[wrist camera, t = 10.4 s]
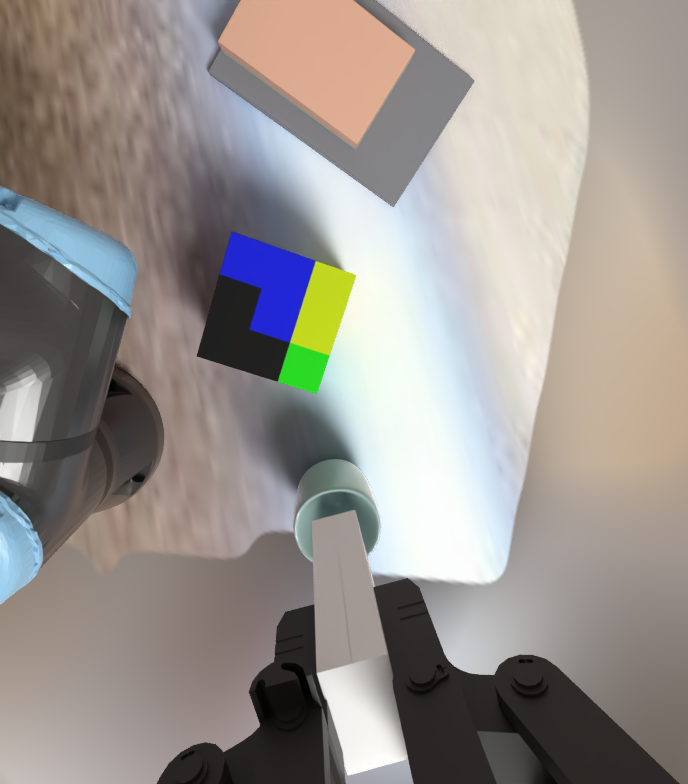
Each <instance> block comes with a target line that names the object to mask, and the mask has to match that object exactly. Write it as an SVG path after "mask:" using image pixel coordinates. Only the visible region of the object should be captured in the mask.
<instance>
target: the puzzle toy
mask: <svg viewBox="0 0 688 784" xmlns="http://www.w3.org/2000/svg"><path fill="white" fill-rule="evenodd" d="M355 278H356V275H355V274H352V273H349V272H346V271H343V270H340V269H337V268H335V267H332V266H329V265H326V264H323V263H320V262H317V261H315V260H312V259H309V258H306V257H303V256H300V255H297V254H295V253H292V252H289V251H286V250H283V249H280V248H278V247H275V246H272V245H269V244H266V243H263V242H260V241H258V240H255V239H252V238H249V237H246V236H243V235H240V234H238V233H235V232H231V236H230V239H229V243H228V246H227V250H226V254H225V257H224V261H223V264H222V268H221V271H220V275H219V279H218V282H217V286H216V289H215V293H214V296H213V300H212V303H211V307H210V311H209V314H208V318H207V321H206V325H205V328H204V332H203V336H202V339H201V343H200V346H199V350H198V353H197V357H201V358H204V359H207V360H210V361H213V362H216V363H220V364H223V365H226V366H229V367H232V368H236V369H239V370H242V371H245V372H248V373H252V374H255V375H258V376H261V377H264V378H267V379H271V380H274V381H277V382H280V383H283V384H287V385H290V386H293V387H296V388H299V389H303V390H306V391H309V392H312V393H315V394H317V392H318V389H319V386H320V383H321V380H322V377H323V374H324V371H325V368H326V365H327V362H328V359H329V356H330V353H331V350H332V347H333V344H334V341H335V338H336V335H337V332H338V329H339V326H340V323H341V320H342V317H343V314H344V311H345V308H346V305H347V302H348V299H349V296H350V293H351V290H352V287H353V284H354V281H355Z"/></svg>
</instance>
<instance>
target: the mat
mask: <svg viewBox="0 0 688 784" xmlns="http://www.w3.org/2000/svg"><path fill="white" fill-rule="evenodd" d="M354 1H355V2H356V3H357V4H359V5H360V6H361V7H362V8H364V9H365V10H366V11H367V12H369V13H370V14H371V15H372V16H374V17H375V18H376V19H377V20H379V21H380V22H381V23H382V24H384V25H385V26H386V27H387V28H389V29H390V30H391V31H392V32H394V33H395V34H396V35H397V36H399V37H400V38H401V39H402V40H404V41H405V42H406V43H407V44H409V45H410V46H411V47H413V48H414V49H415V52H414V54H413V57H412V59H411V61H410V63H409V64H408V66H407V67H406V69H405V71H404V72H403V74H402V75H401V77H400V79H399V80H398V82H397V84H396V85H395V87H394V88H393V90H392V92H391V93H390V95H389V97H388V98H387V100H386V101H385V103H384V105H383V106H382V108H381V109H380V111H379V113H378V114H377V116H376V118H375V119H374V121H373V122H372V124H371V126H370V127H369V129H368V131H367V132H366V134H365V135H364V137H363V139H362V140H361V142H360V144H359V145H358V147H357V148H356V150H354V149H353V148H351V147H350V146H349V145H347V144H346V143H345V142H343V141H342V140H341V139H339V138H338V137H337V136H335V135H334V134H332V133H331V132H330V131H328V130H327V129H326V128H324V127H323V126H322V125H320V124H319V123H317V122H316V121H315V120H313V119H312V118H311V117H309V116H308V115H307V114H305V113H304V112H303V111H301V110H300V109H298V108H297V107H296V106H294V105H293V104H292V103H290V102H289V101H288V100H286V99H285V98H283V97H282V96H281V95H279V94H278V93H277V92H275V91H274V90H273V89H271V88H270V87H269V86H267V85H266V84H264V83H263V82H262V81H260V80H259V79H258V78H256V77H255V76H254V75H252V74H251V73H249V72H248V71H247V70H245V69H244V68H243V67H241V66H240V65H239V64H237V63H236V62H235V61H233V60H232V59H230V58H229V57H228V56H226V55H225V54H224V53H222V50H220V51H219V53H218V55H217V57H216V59H215V60H214V62H213V64H212V66H211V68H210V69H209V71H208V72H209V74H210V75H211V76H213V77H214V78H215V79H217V80H218V81H219V82H221V83H222V84H224V85H225V86H226V87H228V88H229V89H231V90H232V91H233V92H235V93H236V94H237V95H239V96H240V97H242V98H243V99H244V100H246V101H247V102H249V103H250V104H251V105H253V106H254V107H255V108H257V109H258V110H260V111H261V112H262V113H264V114H265V115H267V116H268V117H269V118H271V119H272V120H273V121H275V122H276V123H278V124H279V125H280V126H282V127H283V128H284V129H286V130H287V131H289V132H290V133H291V134H293V135H294V136H296V137H297V138H298V139H300V140H301V141H302V142H304V143H305V144H307V145H308V146H309V147H311V148H312V149H314V150H315V151H316V152H318V153H319V154H320V155H322V156H323V157H325V158H326V159H327V160H329V161H330V162H332V163H333V164H334V165H336V166H337V167H338V168H340V169H341V170H343V171H344V172H345V173H347V174H348V175H349V176H351V177H352V178H354V179H355V180H356V181H358V182H359V183H361V184H362V185H363V186H365V187H366V188H367V189H369V190H370V191H372V192H373V193H374V194H376V195H377V196H379V197H380V198H381V199H383V200H384V201H385V202H387V203H388V204H390V205H391V206H392V207H394V206H395V204H396V203H397V201H398V199H399V198H400V196H401V195H402V193H403V192H404V190H405V189H406V187H407V185H408V184H409V182H410V181H411V179H412V178H413V176H414V175H415V173H416V171H417V170H418V168H419V167H420V165H421V164H422V162H423V161H424V159H425V157H426V156H427V154H428V153H429V151H430V150H431V148H432V146H433V145H434V143H435V142H436V140H437V139H438V137H439V136H440V134H441V132H442V131H443V129H444V128H445V126H446V125H447V123H448V122H449V120H450V118H451V117H452V115H453V114H454V112H455V111H456V109H457V108H458V106H459V104H460V103H461V101H462V100H463V98H464V97H465V95H466V94H467V92H468V90H469V89H470V87H471V86H472V84H473V83H474V80H473V79H472V78H470V77H469V76H468V75H467V74H466V73H464V72H463V71H462V70H461V69H459V68H458V67H457V66H456V65H454V64H453V63H452V62H451V61H449V60H448V59H447V58H446V57H444V56H443V55H442V54H441V53H439V52H438V51H437V50H436V49H434V48H433V47H432V46H431V45H429V44H428V43H427V42H426V41H425V40H423V39H422V38H421V37H420V36H418V35H417V34H416V33H415V32H413V31H412V30H411V29H410V28H408V27H407V26H406V25H405V24H403V23H402V22H401V21H400V20H398V19H397V18H396V17H395V16H393V15H392V14H391V13H390V12H388V11H387V10H386V9H385V8H383V7H382V6H381V5H380V4H379V3H377V2H376V1H375V0H354Z"/></svg>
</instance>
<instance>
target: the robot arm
mask: <svg viewBox="0 0 688 784" xmlns="http://www.w3.org/2000/svg"><path fill="white" fill-rule="evenodd" d="M136 277H137V263H136V261H135V258H134V256H133V254H132V252H131V251H130V250H129V249H128V248H127V247H126V246H125V245H124V244H123V243H121V242H120V241H118V240H116V239H114V238H113V237H111V236H109V235H107V234H105V233H103V232H101V231H99V230H97V229H95V228H93V227H91V226H89V225H87V224H85V223H83V222H81V221H79V220H76V219H74V218H72V217H70V216H68V215H66V214H64V213H61V212H59V211H57V210H55V209H53V208H51V207H48V206H46V205H44V204H42V203H40V202H37V201H35V200H33V199H30V198H28V197H26V196H23V195H19V194H17V193H15V192H14V191H12V190H10V189H8V188H5V187H3V186H1V185H0V604H1V603H3V602H4V601H5V600H7V599H8V598H9V597H10V596H11V595H13V594H14V593H15V592H17V590H19V589H20V588H22V587H24V586H25V585H27V583H28V582H30V581H31V580H32V579H33V578H34V576H36V575H37V572H38V570H39V569H40V568H41V567H42V566H43V565H44V564H45V563H46V562H47V560H48V559H49V558H50V557H51V556H52V555H53V554H54V553H55V552H56V551H57V550H58V549H59V548H60V547H61V546H62V545H63V544H64V543H65V541H66V540H67V539H68V538H69V537H70V536H71V535H72V534H73V533H74V532H75V531H76V530H77V529H78V528H79V527H80V526H81V525H82V523H83V522H84V521H85V520H86V519H87V518H88V517H89V516H90V515H91V514H93V513H96V512H100V511H103V510H106V509H109V508H112V507H114V506H117V505H119V504H121V503H123V502H124V501H126V500H128V499H129V498H130V497H132V496H133V495H134V494H136V493H137V492H138V491H139V490H140V489H141V488H142V487H143V486H144V484H145V483H146V482H147V481H148V480H149V479H150V477H151V476H152V475H153V473H154V472H155V470H156V468H157V466H158V464H159V462H160V459H161V456H162V452H163V446H164V429H163V423H162V420H161V416H160V413H159V411H158V409H157V407H156V405H155V403H154V401H153V400H152V398H151V397H150V395H149V394H148V393H147V391H146V390H145V389H144V388H143V387H142V386H141V385H140V384H139V383H138V382H137V381H136V380H135V379H133V378H132V377H131V376H129V375H128V374H126V373H125V372H123V371H121V370H119V369H117V368H115V367H114V366H115V362H116V358H117V354H118V350H119V346H120V343H121V339H122V335H123V331H124V327H125V324H126V320H127V318H131V315H132V310H131V307H130V305H131V300H132V295H133V291H134V286H135V281H136ZM312 541H313V574H314V605H310V606H307V607H303V608H299V609H295V610H291V611H288V612H285V614H284V615H283V617H282V619H281V621H280V622H279V624H278V626H277V634H276V645H275V658H274V663H271V664H270V665H268V666H267V667H266V668H264V669H263V670H262V671H260V672H259V674H258V675H257V676H256V678H255V679H254V680H253V682H252V684H251V687H250V690H249V694H250V696H251V699H252V702H253V705H254V708H255V711H256V714H257V717H258V719H259V722H260V727H259V728H258V729H257V730H256V731H255V732H254V733H253V734H252V735H251V736H249V737H248V738H246V739H245V740H244V741H242V742H240V743H239V744H237V745H235V746H234V747H232V748H230V749H228V750H227V751H225V752H223V751H222V750H221V749H220V748H219V747H218V746H217V745H216V744H211V743H201V744H197V745H193V746H191V747H190V748H188V749H186V750H184V751H183V752H181V753H180V754H179V755H177V757H175V758H174V759H173V760H172V761H171V762H170V763H169V764H168V766H167V767H166V769H165V770H164V772H163V773H162V775H161V777H160V778H159V781H158V783H157V784H346V783H345V772H344V764H345V768H346V771H347V774H348V775H352V774H355V773H359V772H362V771H366V770H370V769H374V768H377V767H381V766H384V765H388V764H392V763H395V762H399V761H403V760H406V759H408V760H409V764H410V769H411V774H412V778H413V782H414V784H679V783H678V782H677V781H676V780H675V779H674V778H673V777H672V776H671V775H670V774H669V773H668V772H667V771H665V769H664V768H663V767H661V766H660V765H659V764H658V763H657V762H656V761H655V760H654V759H653V758H652V757H651V756H650V755H649V754H648V753H647V752H646V751H645V750H644V749H643V748H641V746H639V745H638V744H637V743H636V742H635V741H634V740H633V739H632V738H631V737H630V736H629V735H628V734H627V733H626V732H625V731H624V730H623V729H622V728H621V727H619V726H618V725H617V724H616V723H615V722H614V721H613V720H612V719H611V718H610V717H609V716H608V715H607V714H606V713H605V712H604V711H603V710H601V708H599V707H598V706H597V705H596V704H595V703H594V702H593V701H592V700H591V699H590V698H589V697H588V696H587V695H586V694H585V693H584V692H583V691H582V690H581V689H580V688H579V687H578V686H576V685H575V684H574V683H573V682H572V681H571V680H570V679H569V678H568V677H567V676H566V675H565V674H564V673H563V672H562V671H561V670H560V669H559V668H558V667H556V666H555V665H553V664H552V663H551V662H549V661H548V660H546V659H544V658H541V657H538V656H534V655H518V656H514V657H511V658H508V659H507V660H506V661H504V662H503V663H501V664H500V665H499V667H498V669H497V671H496V673H495V675H478V674H470V673H467V672H464V671H461V670H460V669H458V668H456V667H454V666H453V665H452V664H451V663H450V662H449V661H448V660H447V658H446V656H445V654H444V652H443V649H442V647H441V644H440V641H439V639H438V637H437V634H436V631H435V628H434V626H433V623H432V620H431V618H430V615H429V613H428V610H427V607H426V604H425V602H424V599H423V596H422V594H421V591H420V588H419V587H418V586H417V585H415V584H414V583H413V582H412V581H411V580H409V579H408V578H406V579H403V580H399V581H395V582H391V583H388V584H384V585H380V586H376V587H375V585H374V581H373V577H372V573H371V569H370V565H369V561H368V557H367V554H366V550H365V546H364V542H363V538H362V534H361V531H360V527H359V523H358V519H357V515H356V511H355V510H352V511H348V512H345V513H341V514H337V515H333V516H329V517H325V518H322V519H318V520H314V521H312Z"/></svg>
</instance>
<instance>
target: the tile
mask: <svg viewBox="0 0 688 784" xmlns="http://www.w3.org/2000/svg"><path fill="white" fill-rule="evenodd" d="M218 43H219V45H220V48H221V50H222V53H224V54H225V55H226V56H228V57H229V58H230V59H232V60H233V61H235V62H236V63H237V64H239V65H240V66H241V67H243V68H244V69H245V70H247V71H248V72H249V73H251V74H252V75H254V76H255V77H256V78H258V79H259V80H260V81H262V82H263V83H264V84H266V85H267V86H269V87H270V88H271V89H273V90H274V91H275V92H277V93H278V94H279V95H281V96H282V97H283V98H285V99H286V100H288V101H289V102H290V103H292V104H293V105H294V106H296V107H297V108H298V109H300V110H301V111H303V112H304V113H305V114H307V115H308V116H309V117H311V118H312V119H313V120H315V121H316V122H317V123H319V124H320V125H322V126H323V127H324V128H326V129H327V130H328V131H330V132H331V133H332V134H334V135H335V136H337V137H338V138H339V139H341V140H342V141H343V142H345V143H346V144H347V145H349V146H350V147H351V148H353V149H354V150H356V148H357V147H358V145H359V144H360V142H361V140H362V139H363V137H364V135H365V134H366V132H367V131H368V129H369V127H370V126H371V124H372V122H373V121H374V119H375V118H376V116H377V114H378V113H379V111H380V109H381V108H382V106H383V105H384V103H385V101H386V100H387V98H388V97H389V95H390V93H391V92H392V90H393V88H394V87H395V85H396V84H397V82H398V80H399V79H400V77H401V75H402V74H403V72H404V71H405V69H406V67H407V66H408V64H409V63H410V61H411V59H412V57H413V54H414V52H415V49H414V48H413V47H411V46H410V45H409V44H407V43H406V42H405V41H404V40H402V39H401V38H400V37H399V36H397V35H396V34H395V33H394V32H392V31H391V30H390V29H389V28H387V27H386V26H385V25H384V24H382V23H381V22H380V21H379V20H377V19H376V18H375V17H374V16H372V15H371V14H370V13H369V12H367V11H366V10H365V9H364V8H362V7H361V6H360V5H359V4H357V3H356V2H355V1H354V0H240V2H239V4H238V6H237V8H236V9H235V11H234V13H233V15H232V17H231V19H230V20H229V22H228V24H227V26H226V28H225V29H224V31H223V33H222V35H221V37H220V38H219V40H218Z"/></svg>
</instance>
